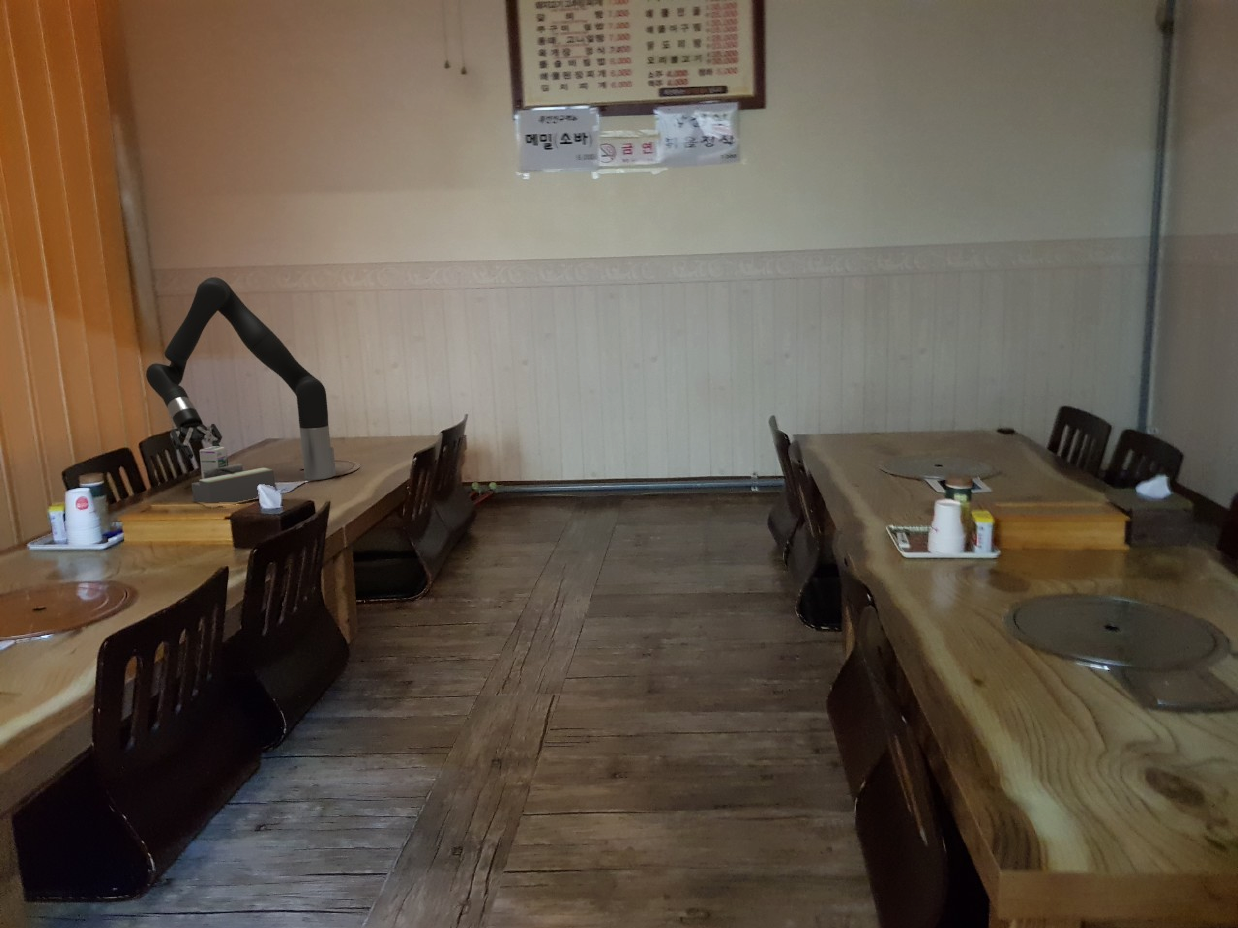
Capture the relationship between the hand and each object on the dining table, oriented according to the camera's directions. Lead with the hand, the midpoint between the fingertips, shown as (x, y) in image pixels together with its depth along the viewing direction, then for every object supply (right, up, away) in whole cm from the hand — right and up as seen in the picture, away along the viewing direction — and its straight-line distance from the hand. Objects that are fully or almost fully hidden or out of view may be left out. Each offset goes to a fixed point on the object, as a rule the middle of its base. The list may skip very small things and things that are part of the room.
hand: (205, 454), depth 304 cm
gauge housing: (+12, -13, -8) cm, 20 cm away
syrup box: (+4, -12, -1) cm, 13 cm away
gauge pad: (+10, -12, -7) cm, 17 cm away
